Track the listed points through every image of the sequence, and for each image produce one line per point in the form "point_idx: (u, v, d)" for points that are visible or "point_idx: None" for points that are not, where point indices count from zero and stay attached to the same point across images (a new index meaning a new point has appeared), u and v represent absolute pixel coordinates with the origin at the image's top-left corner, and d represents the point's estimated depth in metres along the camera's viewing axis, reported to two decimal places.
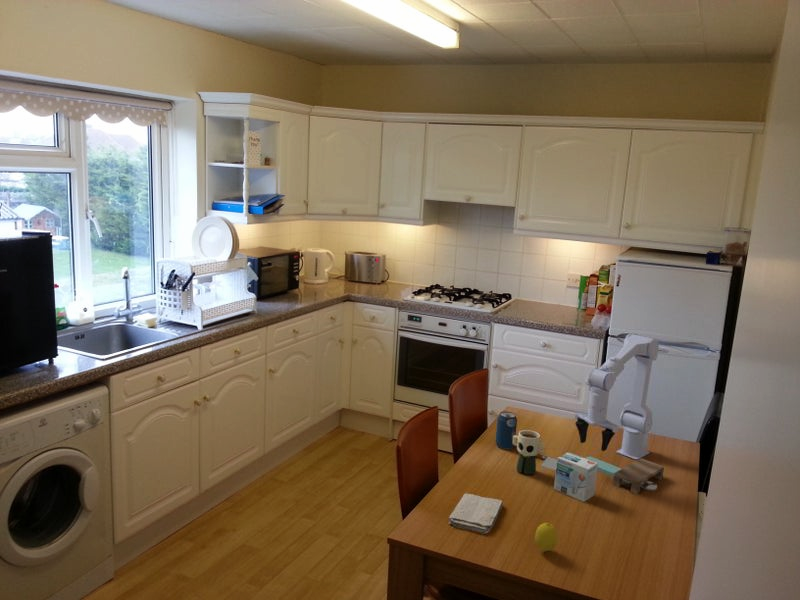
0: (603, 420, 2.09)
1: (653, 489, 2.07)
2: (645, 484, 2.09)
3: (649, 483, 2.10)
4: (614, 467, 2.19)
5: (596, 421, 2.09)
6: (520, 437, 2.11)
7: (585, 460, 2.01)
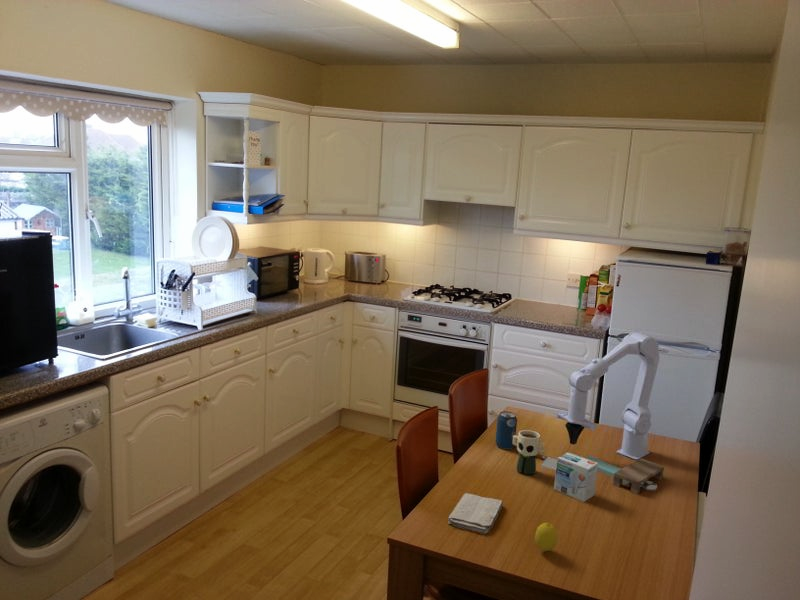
0: (582, 419, 2.24)
1: (653, 489, 2.07)
2: (645, 484, 2.09)
3: (649, 483, 2.10)
4: (614, 467, 2.19)
5: (575, 420, 2.23)
6: (520, 437, 2.11)
7: (585, 460, 2.01)
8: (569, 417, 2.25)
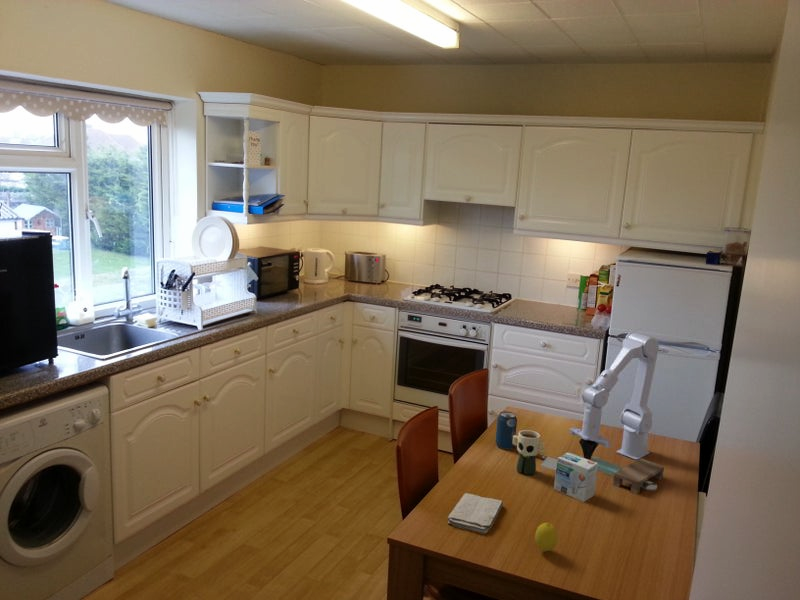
0: (596, 435, 2.20)
1: (653, 489, 2.07)
2: (645, 484, 2.09)
3: (649, 483, 2.10)
4: (620, 468, 2.18)
5: (590, 437, 2.20)
6: (520, 437, 2.11)
7: (585, 460, 2.01)
8: (583, 433, 2.22)
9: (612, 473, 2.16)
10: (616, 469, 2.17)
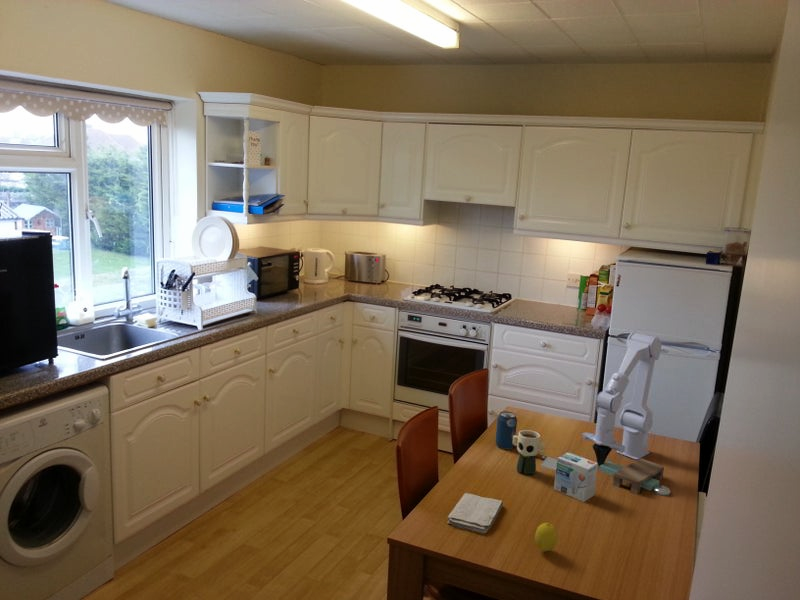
0: (610, 440, 2.17)
1: (666, 494, 2.04)
2: (658, 488, 2.06)
3: (662, 487, 2.07)
4: None
5: (603, 442, 2.17)
6: (520, 437, 2.11)
7: (585, 460, 2.01)
8: (596, 438, 2.18)
9: None
10: None
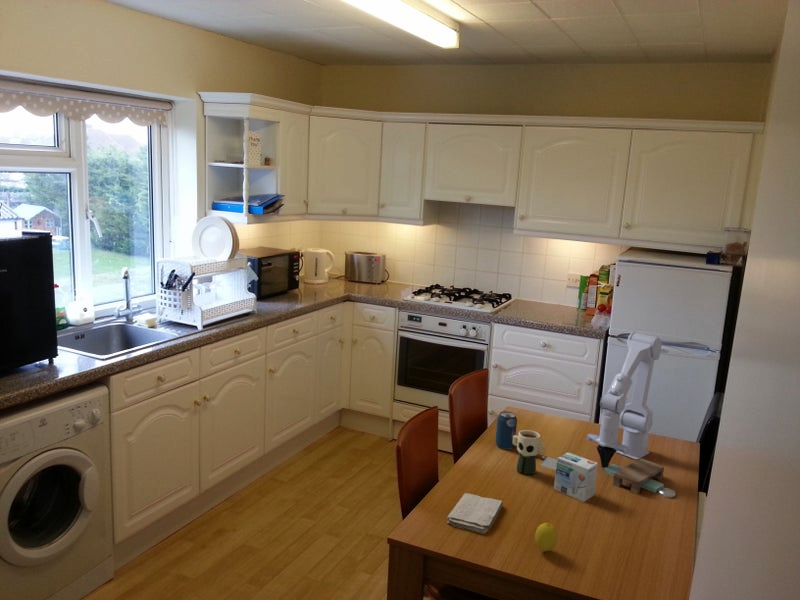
0: (614, 442, 2.16)
1: (671, 496, 2.03)
2: (663, 491, 2.05)
3: (667, 490, 2.06)
4: None
5: (607, 443, 2.15)
6: (520, 437, 2.11)
7: (585, 460, 2.01)
8: (601, 440, 2.17)
9: None
10: None
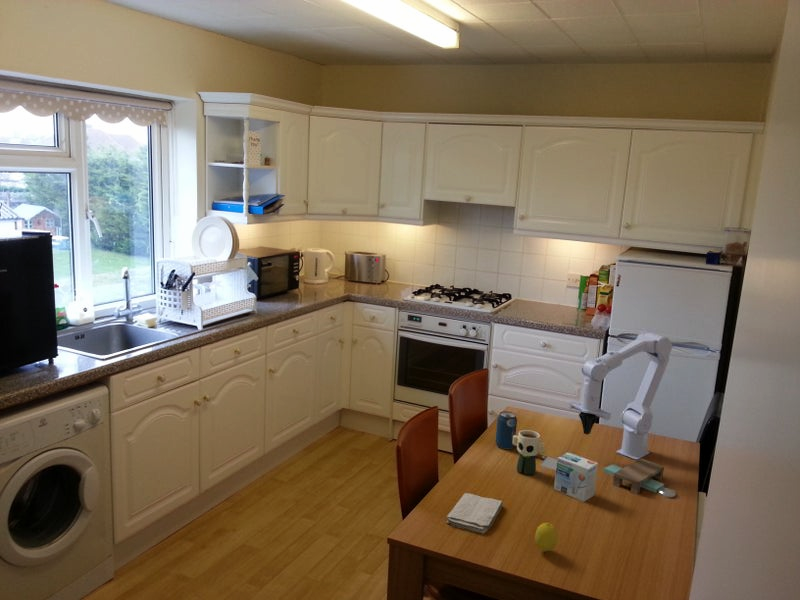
0: (596, 408, 2.22)
1: (671, 496, 2.03)
2: (663, 491, 2.05)
3: (667, 490, 2.06)
4: None
5: (589, 410, 2.21)
6: (520, 437, 2.11)
7: (585, 460, 2.01)
8: (583, 407, 2.23)
9: None
10: None
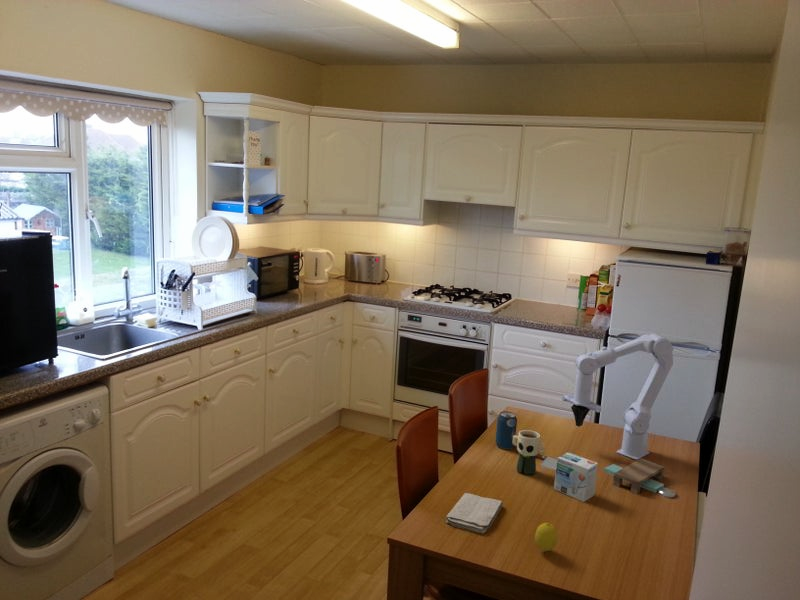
0: (587, 401, 2.28)
1: (671, 496, 2.03)
2: (663, 491, 2.05)
3: (667, 490, 2.06)
4: None
5: (581, 402, 2.28)
6: (520, 437, 2.11)
7: (585, 460, 2.01)
8: (575, 399, 2.30)
9: None
10: None
